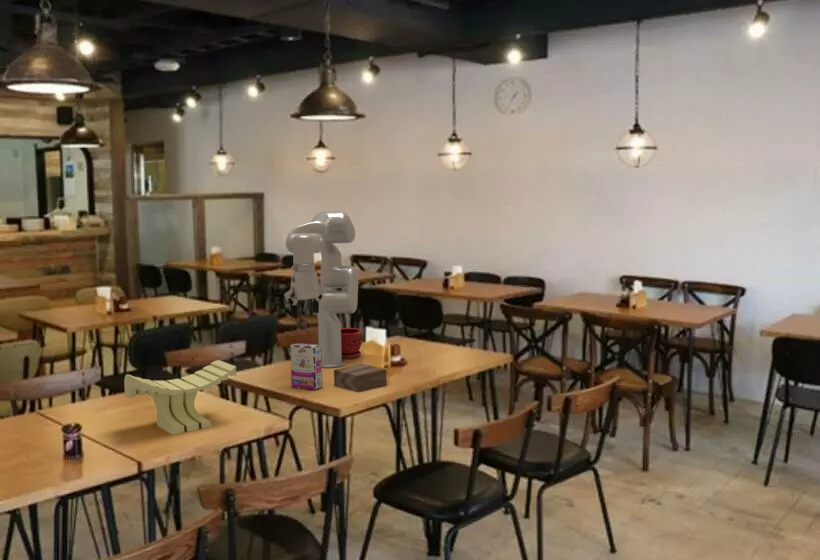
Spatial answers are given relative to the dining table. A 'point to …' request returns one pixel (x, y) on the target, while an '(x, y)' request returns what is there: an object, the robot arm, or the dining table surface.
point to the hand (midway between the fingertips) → (305, 314)
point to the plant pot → (350, 342)
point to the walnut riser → (360, 377)
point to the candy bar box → (306, 366)
